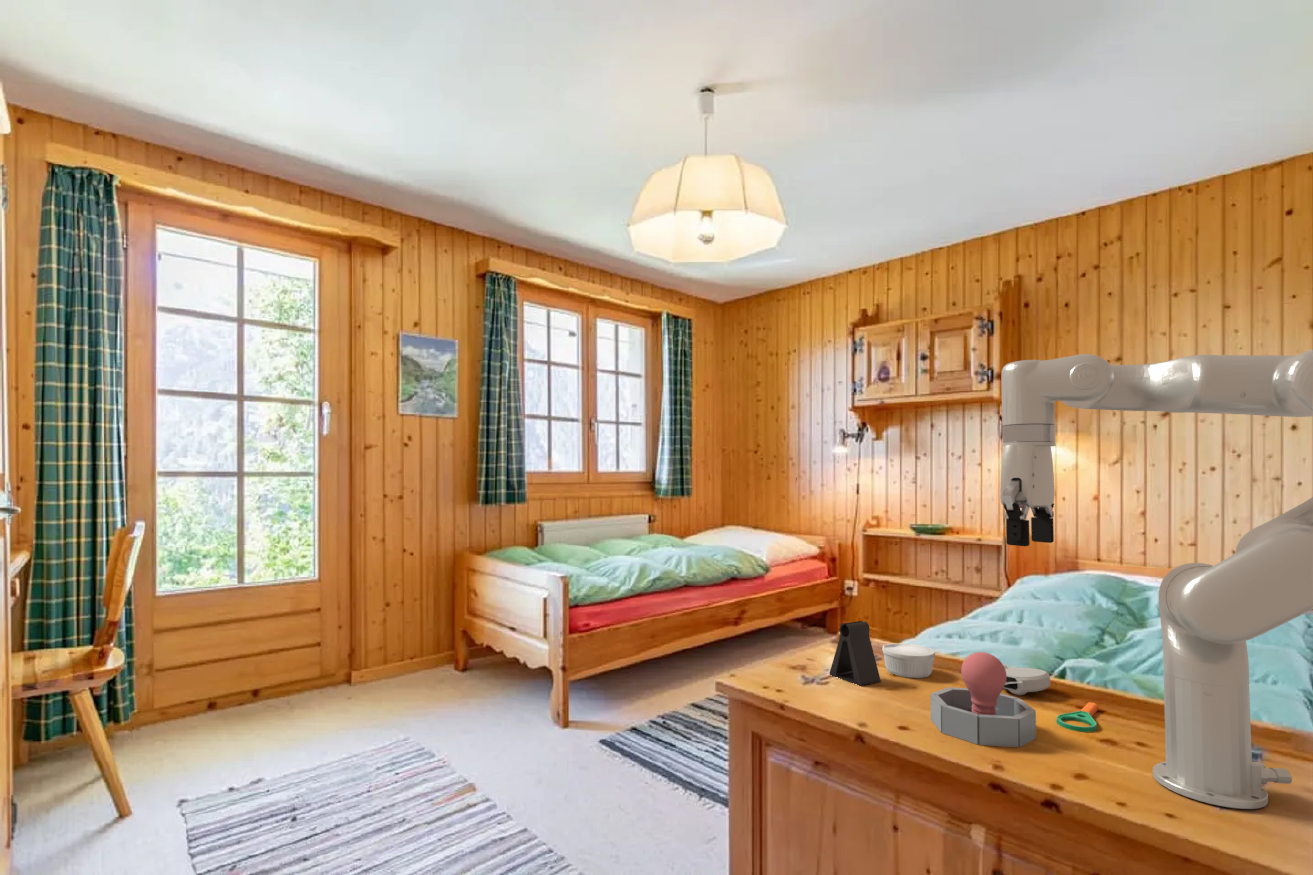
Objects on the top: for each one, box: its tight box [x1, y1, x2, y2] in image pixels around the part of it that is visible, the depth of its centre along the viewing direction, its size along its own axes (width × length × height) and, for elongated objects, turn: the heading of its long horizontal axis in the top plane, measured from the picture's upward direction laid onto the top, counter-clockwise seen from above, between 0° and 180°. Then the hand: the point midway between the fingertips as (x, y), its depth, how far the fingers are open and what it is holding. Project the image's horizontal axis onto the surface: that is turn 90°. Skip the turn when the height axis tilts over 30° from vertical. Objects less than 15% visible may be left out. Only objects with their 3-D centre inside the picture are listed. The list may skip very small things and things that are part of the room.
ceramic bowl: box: [930, 686, 1037, 748], centre depth 116 cm, size 15×15×4 cm
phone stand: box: [829, 620, 881, 687], centre depth 144 cm, size 9×6×12 cm, turn 31°
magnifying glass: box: [1056, 701, 1100, 733], centre depth 122 cm, size 15×6×2 cm, turn 135°
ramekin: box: [881, 643, 936, 679], centre depth 150 cm, size 11×11×5 cm
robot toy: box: [1003, 664, 1059, 696], centre depth 140 cm, size 12×4×15 cm
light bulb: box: [960, 651, 1007, 715], centre depth 117 cm, size 7×7×12 cm
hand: (1030, 543), depth 107 cm, fingers open, 9 cm apart
